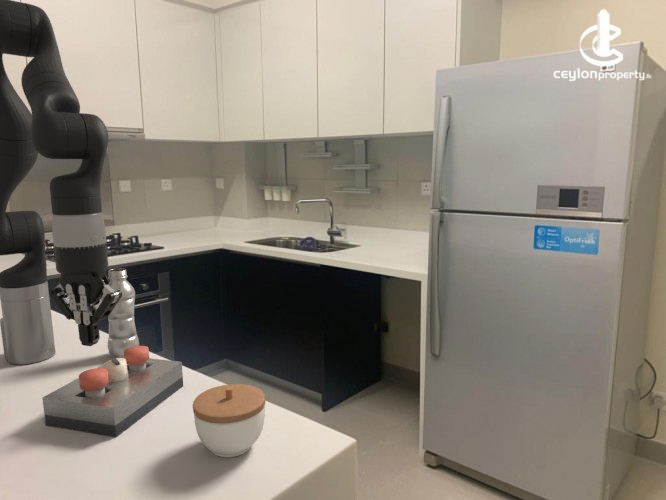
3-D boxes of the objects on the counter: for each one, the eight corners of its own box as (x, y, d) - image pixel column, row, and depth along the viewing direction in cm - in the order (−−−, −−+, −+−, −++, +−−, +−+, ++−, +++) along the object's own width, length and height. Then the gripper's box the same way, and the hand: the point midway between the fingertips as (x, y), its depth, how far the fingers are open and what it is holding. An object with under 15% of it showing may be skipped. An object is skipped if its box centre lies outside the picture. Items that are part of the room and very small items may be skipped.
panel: (45, 425, 81) (42, 397, 80) (122, 378, 99) (120, 355, 99) (116, 437, 78) (113, 408, 77) (183, 385, 96) (181, 361, 95)
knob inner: (121, 383, 92) (118, 353, 91) (136, 373, 96) (133, 344, 95) (141, 385, 91) (138, 355, 90) (155, 376, 95) (153, 346, 94)
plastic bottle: (120, 349, 115) (112, 266, 112) (145, 351, 114) (139, 267, 111) (102, 360, 109) (93, 272, 106) (129, 362, 108) (121, 273, 104)
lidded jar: (222, 422, 82) (219, 370, 80) (279, 434, 78) (277, 379, 76) (180, 458, 72) (176, 398, 70) (243, 474, 68) (240, 411, 66)
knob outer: (76, 411, 81) (72, 377, 80) (95, 399, 86) (92, 367, 85) (98, 414, 80) (94, 380, 79) (116, 402, 84) (113, 369, 83)
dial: (104, 377, 88) (101, 359, 87) (124, 371, 90) (121, 353, 89) (110, 384, 85) (107, 365, 84) (131, 377, 87) (128, 359, 87)
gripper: (131, 239, 80) (138, 340, 83) (65, 236, 83) (74, 333, 86) (97, 247, 73) (107, 357, 76) (27, 243, 76) (39, 348, 79)
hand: (90, 344), depth 81 cm, fingers closed
